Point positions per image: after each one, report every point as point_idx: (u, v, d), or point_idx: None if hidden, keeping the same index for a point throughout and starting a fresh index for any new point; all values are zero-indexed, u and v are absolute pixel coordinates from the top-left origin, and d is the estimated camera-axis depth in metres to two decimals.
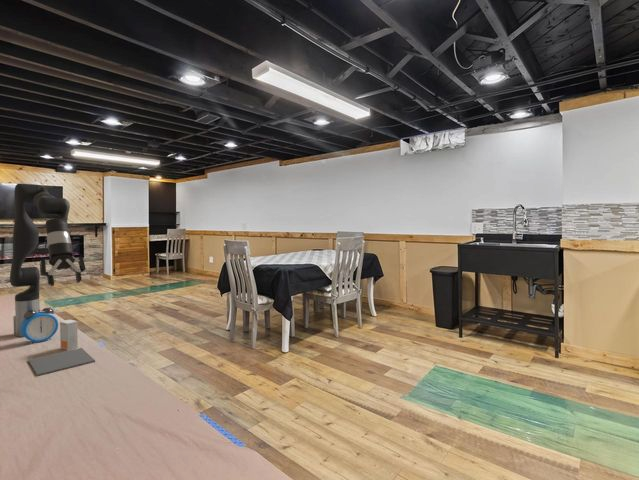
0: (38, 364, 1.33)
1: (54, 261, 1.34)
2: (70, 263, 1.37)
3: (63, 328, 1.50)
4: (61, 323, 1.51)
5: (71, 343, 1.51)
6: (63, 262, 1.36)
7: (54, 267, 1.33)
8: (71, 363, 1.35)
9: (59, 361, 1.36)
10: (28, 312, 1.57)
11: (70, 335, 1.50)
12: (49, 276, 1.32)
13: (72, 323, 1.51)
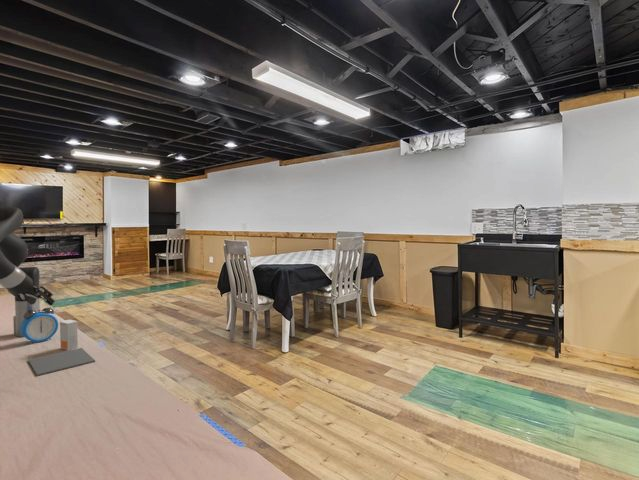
0: (38, 364, 1.33)
1: None
2: (31, 296, 1.33)
3: (63, 328, 1.50)
4: (61, 323, 1.51)
5: (71, 343, 1.51)
6: None
7: (21, 297, 1.35)
8: (71, 363, 1.35)
9: (59, 361, 1.36)
10: (28, 312, 1.57)
11: (70, 335, 1.50)
12: (25, 299, 1.38)
13: (72, 323, 1.51)
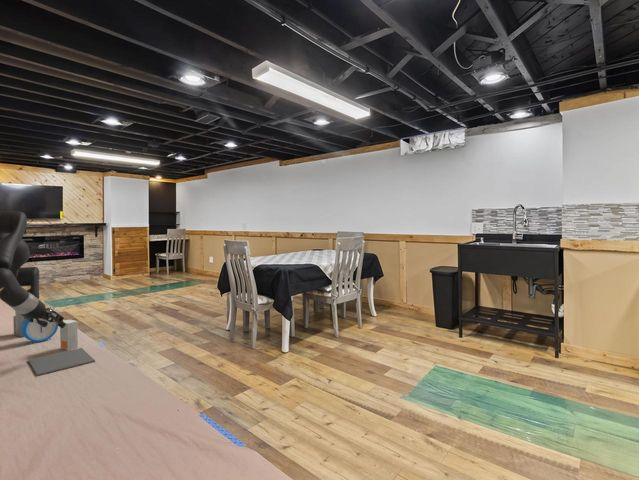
0: (38, 364, 1.33)
1: None
2: (44, 320, 1.39)
3: (63, 328, 1.50)
4: None
5: (71, 343, 1.51)
6: None
7: (34, 321, 1.40)
8: (71, 363, 1.35)
9: (59, 361, 1.36)
10: None
11: (70, 335, 1.50)
12: (37, 322, 1.43)
13: (72, 323, 1.51)
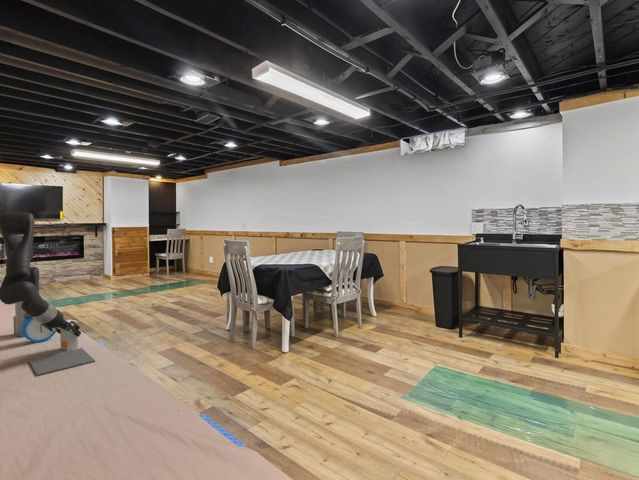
0: (38, 364, 1.33)
1: None
2: (62, 329, 1.47)
3: None
4: None
5: (71, 343, 1.51)
6: None
7: None
8: (71, 363, 1.35)
9: (59, 361, 1.36)
10: None
11: (70, 335, 1.50)
12: (57, 331, 1.52)
13: None
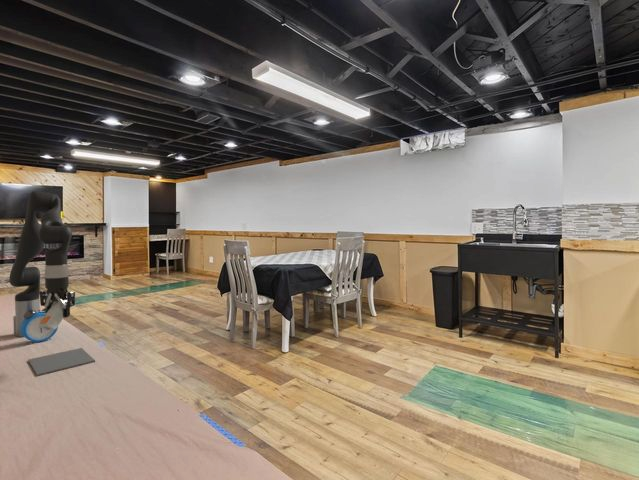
0: (38, 364, 1.33)
1: (48, 293, 1.38)
2: (58, 298, 1.37)
3: (56, 304, 1.39)
4: None
5: (54, 320, 1.34)
6: None
7: (47, 300, 1.37)
8: (71, 363, 1.35)
9: (59, 361, 1.36)
10: (28, 312, 1.57)
11: (59, 311, 1.37)
12: None
13: None
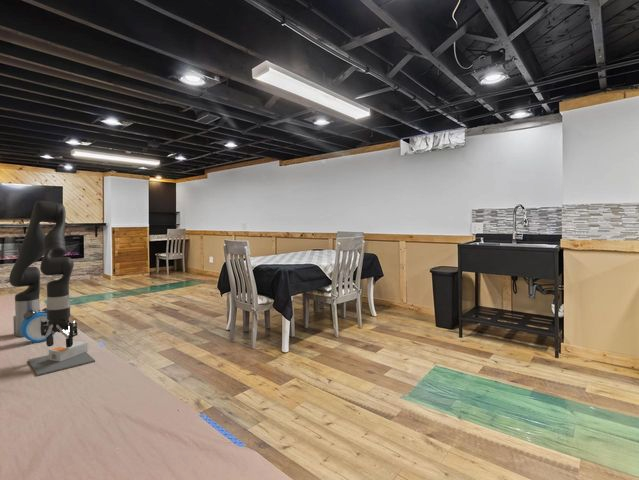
0: (38, 364, 1.33)
1: (50, 324, 1.38)
2: (60, 329, 1.37)
3: (77, 343, 1.45)
4: (78, 341, 1.48)
5: (66, 353, 1.38)
6: None
7: (48, 331, 1.38)
8: (71, 363, 1.35)
9: None
10: (28, 312, 1.57)
11: (74, 349, 1.41)
12: (47, 337, 1.39)
13: (86, 347, 1.46)
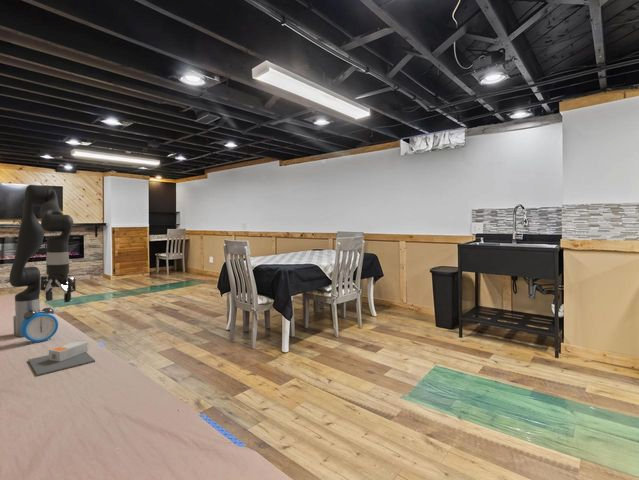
0: (38, 364, 1.33)
1: (49, 279, 1.43)
2: (58, 284, 1.42)
3: (77, 343, 1.45)
4: (78, 341, 1.48)
5: (66, 353, 1.38)
6: None
7: (47, 286, 1.43)
8: (71, 363, 1.35)
9: None
10: (28, 312, 1.57)
11: (74, 349, 1.41)
12: (46, 292, 1.44)
13: (86, 347, 1.46)
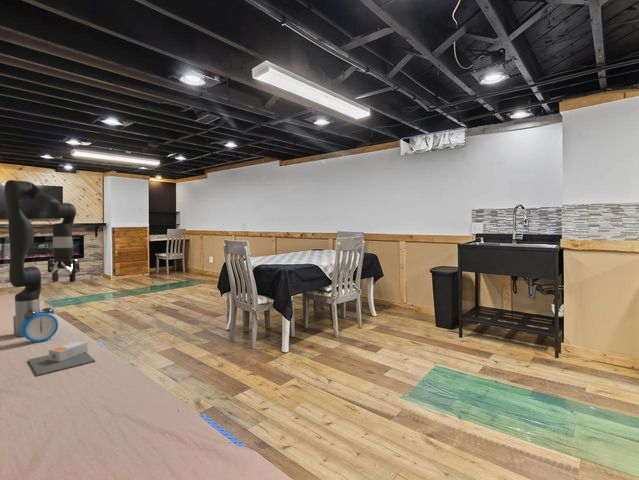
0: (38, 364, 1.33)
1: (55, 262, 1.58)
2: (64, 265, 1.57)
3: (77, 343, 1.45)
4: (78, 341, 1.48)
5: (66, 353, 1.38)
6: None
7: (54, 267, 1.57)
8: (71, 363, 1.35)
9: None
10: (28, 312, 1.57)
11: (74, 349, 1.41)
12: (52, 274, 1.59)
13: (86, 347, 1.46)
